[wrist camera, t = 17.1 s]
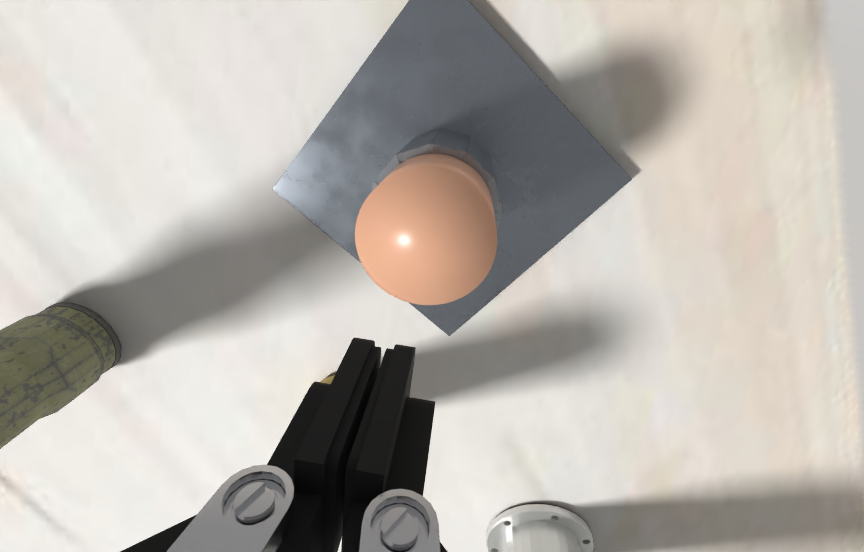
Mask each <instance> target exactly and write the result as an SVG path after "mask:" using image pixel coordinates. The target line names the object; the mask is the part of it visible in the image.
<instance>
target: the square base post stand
mask: <svg viewBox="0 0 864 552" xmlns="http://www.w3.org/2000/svg"><path fill="white" fill-rule="evenodd" d="M430 153H436V154H445V155H449V156H453V157H456V158H458V159H460V160H462V161H464V162H465V163H467V164H469V165H470V166H471V167H472V168H474V169H475V170H476V171H477V172H478V173H479V175H480V176H481V177H482V178H483V180H484V181H485V183H486V185H487V187H488V189H489V191H490V194H491V197H492V201H493V207H494V214H495V222H496V230H497V251H496V255H495V259H494V262H493V265H492V267H491V269H490V271H489V273H488V274H487V276H486V277H485V279H484V280H483V281H482V282H481V283H480V284H479V285H478V286H477V287H476V288H475V289H474V290H473V291H471V292H470V293H469V294H467V295H465V296H464V297H462V298H460V299H457V300H455V301H452V302H449V303H445V304H439V305H419V304H413V303H410V304H411V305H412V306H414V307H415V308H416V309H417V310H418V311H420V312H421V313H422V314H423V315H424V316H426V317H427V318H428V319H429V320H430V321H432V322H433V323H434V324H435V325H436V326H438V327H439V328H440V329H441V330H443V331H444V332H445V333H446V334H447V335H449V336H450V335H451V334H452V333H454V332H455V331H456V330H457V329H458V328H459V327H461V326H462V325H463V324H464V323H465V322H466V321H468V320H469V319H470V318H471V317H472V316H473V315H475V314H476V313H477V312H478V311H479V310H480V309H481V308H483V307H484V306H485V305H486V304H487V303H488V302H490V301H491V300H492V299H493V298H494V297H495V296H497V295H498V294H499V293H500V292H501V291H502V290H504V289H505V288H506V287H507V286H508V285H509V284H511V283H512V282H513V281H514V280H515V279H516V278H517V277H519V276H520V275H521V274H522V273H523V272H524V271H526V270H527V269H528V268H529V267H530V266H531V265H533V264H534V263H535V262H536V261H537V260H538V259H540V258H541V257H542V256H543V255H544V254H545V253H547V252H548V251H549V250H550V249H551V248H552V247H554V246H555V245H556V244H557V243H558V242H559V241H560V240H562V239H563V238H564V237H565V236H566V235H567V234H569V233H570V232H571V231H572V230H573V229H574V228H576V227H577V226H578V225H579V224H580V223H581V222H583V221H584V220H585V219H586V218H587V217H588V216H590V215H591V214H592V213H593V212H594V211H595V210H597V209H598V208H599V207H600V206H601V205H602V204H603V203H605V202H606V201H607V200H608V199H609V198H610V197H612V196H613V195H614V194H615V193H616V192H617V191H619V190H620V189H621V188H622V187H623V186H624V185H626V184H627V183H628V182H629V181H630V180H631V178H630V177H629V176H628V175H627V174H626V172H625V171H624V170H623V169H622V168H621V167H620V166H619V165H618V164H617V163H616V162H615V160H614V159H613V158H612V157H611V156H610V155H609V154H608V153H607V152H606V151H605V150H604V148H603V147H602V146H601V145H600V144H599V143H598V142H597V141H596V140H595V139H594V137H593V136H592V135H591V134H590V133H589V132H588V131H587V130H586V129H585V128H584V127H583V125H582V124H581V123H580V122H579V121H578V120H577V119H576V118H575V117H574V116H573V115H572V113H571V112H570V111H569V110H568V109H567V108H566V107H565V106H564V105H563V104H562V103H561V101H560V100H559V99H558V98H557V97H556V96H555V95H554V94H553V93H552V92H551V91H550V89H549V88H548V87H547V86H546V85H545V84H544V83H543V82H542V81H541V80H540V79H539V77H538V76H537V75H536V74H535V73H534V72H533V71H532V70H531V69H530V68H529V67H528V65H527V64H526V63H525V62H524V61H523V60H522V59H521V58H520V57H519V56H518V55H517V53H516V52H515V51H514V50H513V49H512V48H511V47H510V46H509V45H508V44H507V43H506V41H505V40H504V39H503V38H502V37H501V36H500V35H499V34H498V33H497V32H496V31H495V29H494V28H493V27H492V26H491V25H490V24H489V23H488V22H487V21H486V20H485V19H484V17H483V16H482V15H481V14H480V13H479V12H478V11H477V10H476V9H475V8H474V7H473V5H472V4H471V3H470V2H469V1H468V0H409V1H408V3H407V4H406V6H405V7H404V8H403V10H402V11H401V12H400V14H399V15H398V17H397V18H396V19H395V21H394V22H393V24H392V25H391V26H390V28H389V29H388V30H387V32H386V33H385V35H384V36H383V37H382V39H381V40H380V42H379V43H378V44H377V46H376V47H375V48H374V50H373V51H372V53H371V54H370V55H369V57H368V58H367V59H366V61H365V62H364V64H363V65H362V66H361V68H360V69H359V71H358V72H357V73H356V75H355V76H354V77H353V79H352V80H351V82H350V83H349V84H348V86H347V87H346V88H345V90H344V91H343V93H342V94H341V95H340V97H339V98H338V100H337V101H336V102H335V104H334V105H333V106H332V108H331V109H330V111H329V112H328V113H327V115H326V116H325V118H324V119H323V120H322V122H321V123H320V124H319V126H318V127H317V129H316V130H315V131H314V133H313V134H312V135H311V137H310V138H309V140H308V141H307V142H306V144H305V145H304V147H303V148H302V149H301V151H300V152H299V153H298V155H297V156H296V158H295V159H294V160H293V162H292V163H291V164H290V166H289V167H288V169H287V170H286V171H285V173H284V174H283V176H282V177H281V178H280V180H279V181H278V182H277V184H276V185H275V187H274V188H273V190H274V191H275V192H276V193H278V194H279V195H280V196H281V197H282V198H284V199H285V200H286V201H287V202H288V203H290V204H291V205H292V206H293V207H294V208H296V209H297V210H298V211H299V212H300V213H302V214H303V215H304V216H305V217H306V218H308V219H309V220H310V221H311V222H313V223H314V224H315V225H316V226H317V227H319V228H320V229H321V230H322V231H323V232H325V233H326V234H327V235H328V236H329V237H331V238H332V239H333V240H334V241H335V242H337V243H338V244H339V245H340V246H341V247H343V248H344V249H345V250H346V251H347V252H349V253H350V254H351V255H352V256H353V257H355V258H356V259H357V260H358V261H359V262H361V261H360V259H359V256H358V253H357V249H356V244H355V226H356V221H357V217H358V214H359V211H360V209H361V207H362V205H363V203H364V201H365V200H366V199H367V197H368V196H369V194H370V193H371V192H372V191H373V190H374V189H375V188H376V187H377V186H378V185H379V184H380V183H381V182H382V181H383V180H384V179H385V178H386V176H387V175H388V174H389V173H390V172H391V171H392V170H393V169H394V168H395V167H397V166H398V165H399V164H400V163H402V162H404V161H405V160H407V159H409V158H412V157H414V156H418V155H422V154H430Z"/></svg>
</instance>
